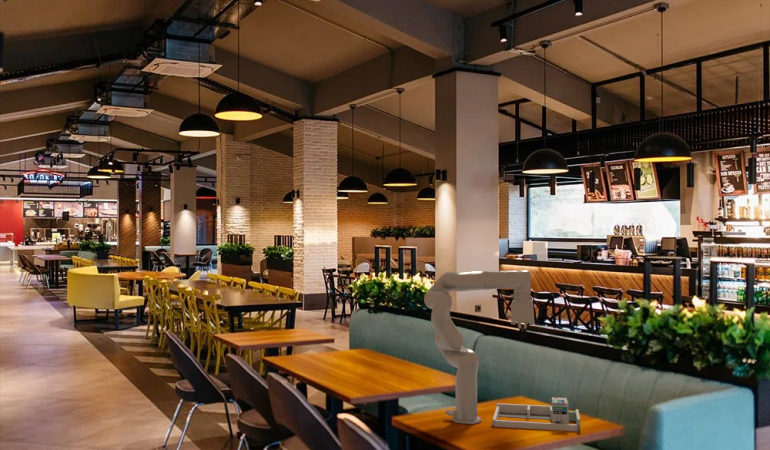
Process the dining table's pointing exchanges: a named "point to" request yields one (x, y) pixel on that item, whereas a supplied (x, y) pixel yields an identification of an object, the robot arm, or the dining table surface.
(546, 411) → the frame
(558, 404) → the light bulb box
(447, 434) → the dining table surface
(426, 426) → the dining table surface
